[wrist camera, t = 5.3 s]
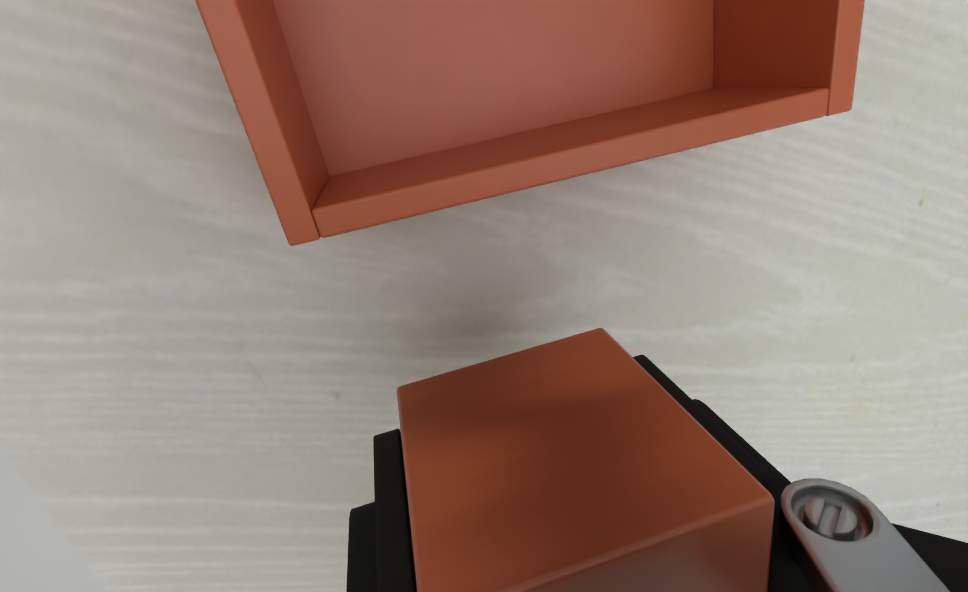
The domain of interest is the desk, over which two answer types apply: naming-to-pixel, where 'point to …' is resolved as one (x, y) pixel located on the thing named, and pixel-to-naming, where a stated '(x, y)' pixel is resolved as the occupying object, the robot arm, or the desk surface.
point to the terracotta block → (574, 480)
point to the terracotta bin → (508, 91)
